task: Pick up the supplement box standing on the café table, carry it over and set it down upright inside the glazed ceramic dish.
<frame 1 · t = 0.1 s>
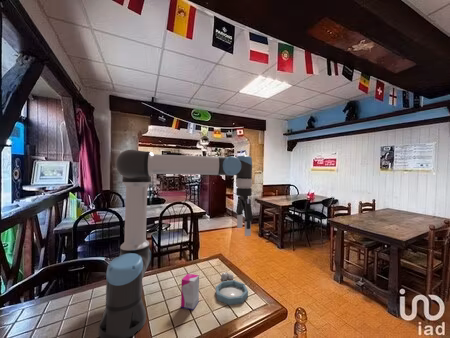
hand: (243, 231, 94), 28 cm above the table, fingers open, 13 cm apart
dish: (231, 294, 90), on the table
supplement box: (190, 305, 82), on the table
pebble pile: (227, 278, 104), on the table
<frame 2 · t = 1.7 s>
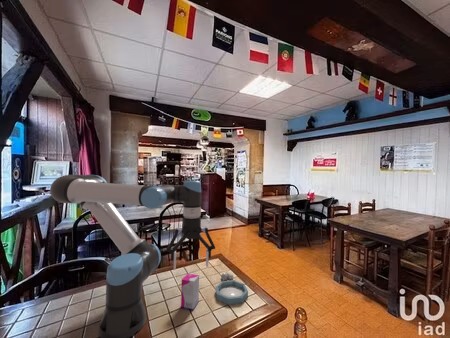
hand: (191, 266, 83), 16 cm above the table, fingers open, 13 cm apart
nothing on the table moved.
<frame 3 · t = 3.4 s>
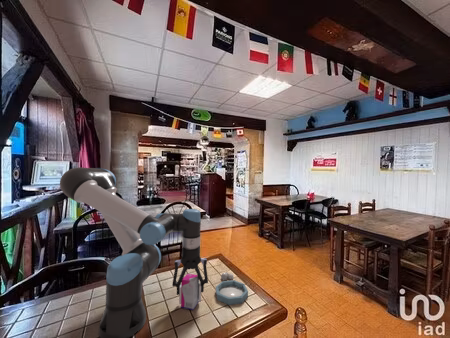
hand: (190, 300, 82), 2 cm above the table, fingers closed on supplement box, 7 cm apart
supplement box: (189, 305, 82), on the table, touching gripper
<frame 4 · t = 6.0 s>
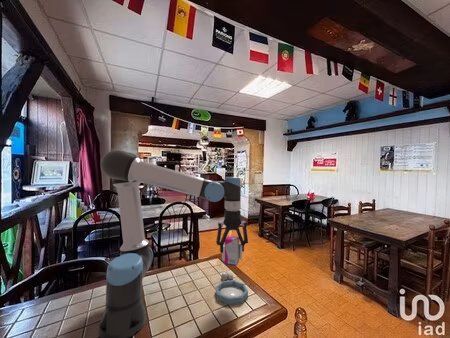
hand: (231, 259, 90), 16 cm above the table, fingers closed on supplement box, 7 cm apart
supplement box: (231, 263, 90), point 14 cm above the table, touching gripper
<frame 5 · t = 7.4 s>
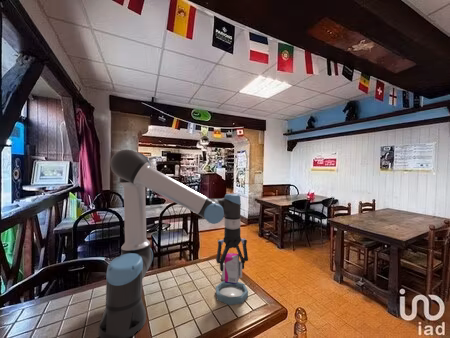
hand: (232, 276, 90), 8 cm above the table, fingers closed on supplement box, 7 cm apart
supplement box: (232, 280, 90), point 6 cm above the table, touching gripper
when the fingers open (4 cm above the table, at t = 8.6 s): supplement box drops 2 cm, resting on dish.
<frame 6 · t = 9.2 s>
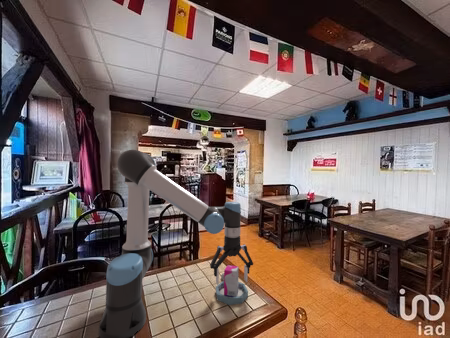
hand: (231, 281, 90), 6 cm above the table, fingers open, 13 cm apart
supplement box: (231, 293, 90), resting on dish
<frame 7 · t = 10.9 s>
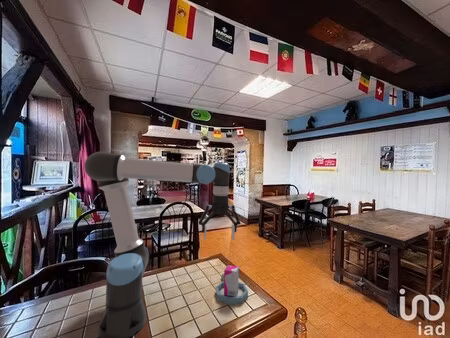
hand: (219, 239, 93), 24 cm above the table, fingers open, 13 cm apart
nothing on the table moved.
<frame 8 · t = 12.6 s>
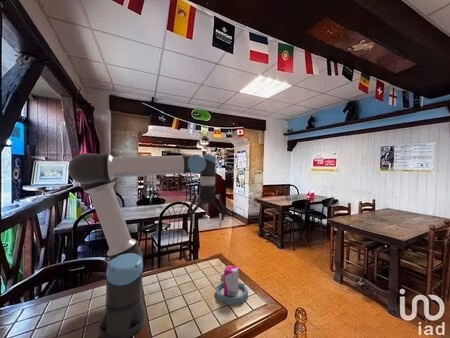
hand: (206, 227, 97), 29 cm above the table, fingers open, 13 cm apart
nothing on the table moved.
at the end: supplement box inside the target area on the dish (0.1 cm from its centre), point 0.3 cm above the dish's base; supplement box tilted 0°; the gripper is holding nothing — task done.
